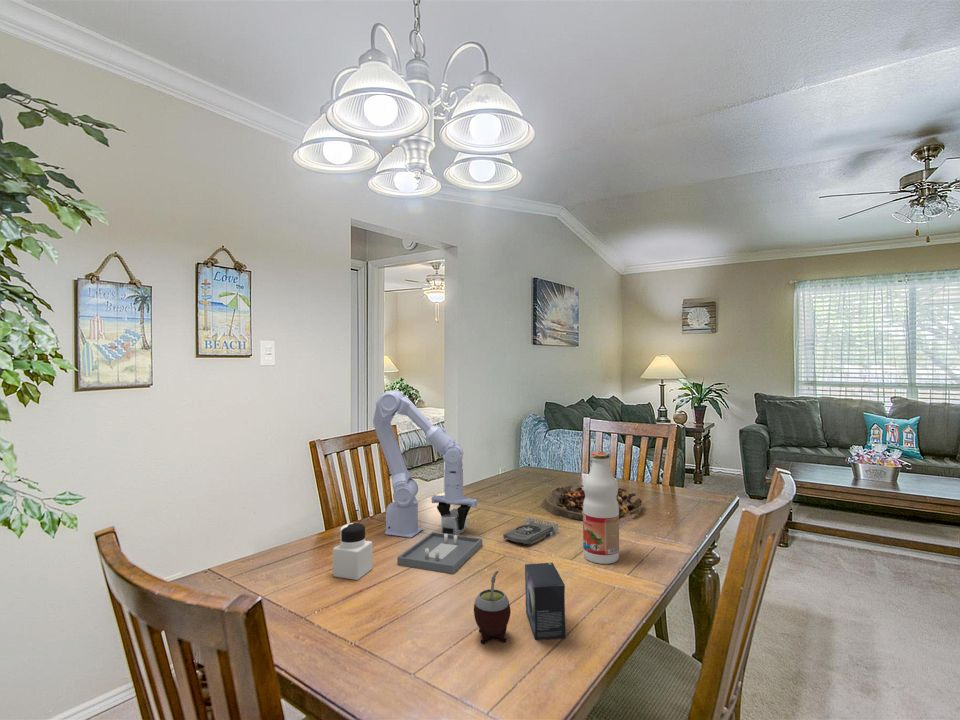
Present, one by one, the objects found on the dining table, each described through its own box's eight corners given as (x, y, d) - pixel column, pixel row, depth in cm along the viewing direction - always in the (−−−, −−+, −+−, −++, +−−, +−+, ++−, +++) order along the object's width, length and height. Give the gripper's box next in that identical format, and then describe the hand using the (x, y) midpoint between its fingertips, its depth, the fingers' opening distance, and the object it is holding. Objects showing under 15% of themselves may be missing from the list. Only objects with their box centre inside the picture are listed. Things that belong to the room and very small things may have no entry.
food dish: (651, 506, 183) (652, 485, 182) (625, 535, 155) (626, 511, 154) (562, 490, 202) (562, 471, 201) (524, 514, 173) (524, 491, 173)
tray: (397, 564, 130) (397, 551, 130) (432, 538, 149) (432, 526, 149) (453, 574, 124) (453, 560, 124) (482, 545, 143) (482, 533, 143)
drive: (441, 536, 150) (441, 516, 150) (453, 527, 159) (453, 508, 159) (454, 538, 149) (454, 518, 149) (466, 528, 157) (466, 509, 157)
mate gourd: (489, 622, 101) (488, 549, 101) (521, 636, 96) (520, 558, 96) (465, 639, 95) (464, 560, 95) (497, 654, 90) (497, 571, 90)
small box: (523, 612, 105) (523, 562, 105) (554, 610, 106) (553, 561, 106) (533, 640, 95) (532, 585, 95) (567, 638, 95) (566, 583, 95)
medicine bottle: (373, 568, 128) (372, 522, 128) (357, 580, 121) (357, 531, 121) (349, 565, 130) (348, 519, 130) (332, 576, 123) (332, 528, 123)
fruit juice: (623, 564, 129) (622, 456, 129) (587, 565, 129) (586, 456, 129) (614, 550, 138) (613, 449, 138) (580, 550, 138) (579, 450, 138)
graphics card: (526, 515, 160) (559, 522, 153) (527, 527, 160) (559, 534, 153) (494, 530, 148) (527, 538, 140) (494, 542, 148) (527, 551, 140)
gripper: (480, 482, 155) (480, 526, 155) (438, 479, 160) (438, 521, 160) (471, 488, 148) (472, 534, 148) (428, 484, 153) (428, 528, 153)
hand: (454, 528), depth 154 cm, fingers closed on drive, 4 cm apart
